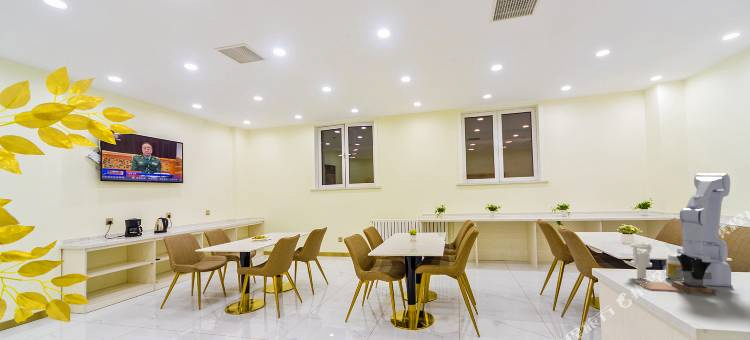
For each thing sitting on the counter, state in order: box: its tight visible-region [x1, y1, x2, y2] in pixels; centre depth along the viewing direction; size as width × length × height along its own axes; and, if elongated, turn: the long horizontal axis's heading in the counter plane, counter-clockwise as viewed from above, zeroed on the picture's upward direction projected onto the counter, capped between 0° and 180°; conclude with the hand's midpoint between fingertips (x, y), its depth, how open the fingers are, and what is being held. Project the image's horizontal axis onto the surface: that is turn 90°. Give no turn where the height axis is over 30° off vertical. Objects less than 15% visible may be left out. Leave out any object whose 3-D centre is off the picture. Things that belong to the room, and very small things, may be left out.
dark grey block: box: [675, 268, 712, 288], centre depth 132 cm, size 9×4×8 cm, turn 80°
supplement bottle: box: [665, 254, 683, 281], centre depth 148 cm, size 5×5×10 cm
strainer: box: [630, 242, 653, 280], centre depth 148 cm, size 7×7×15 cm
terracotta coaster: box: [634, 280, 681, 293], centre depth 136 cm, size 10×10×1 cm
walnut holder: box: [671, 280, 717, 296], centre depth 132 cm, size 9×9×2 cm
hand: (693, 277), depth 133 cm, fingers open, 5 cm apart
